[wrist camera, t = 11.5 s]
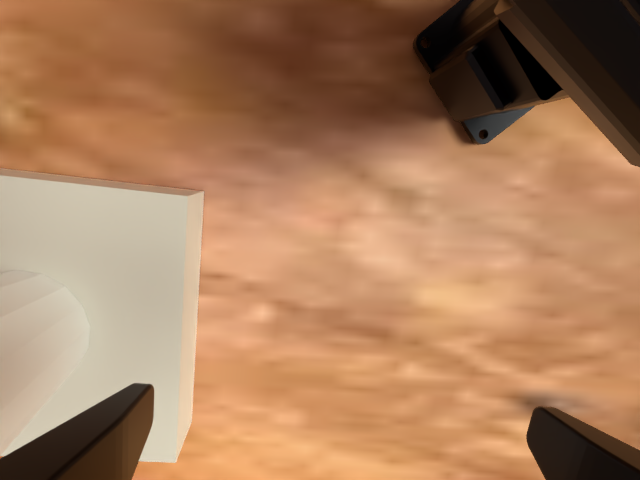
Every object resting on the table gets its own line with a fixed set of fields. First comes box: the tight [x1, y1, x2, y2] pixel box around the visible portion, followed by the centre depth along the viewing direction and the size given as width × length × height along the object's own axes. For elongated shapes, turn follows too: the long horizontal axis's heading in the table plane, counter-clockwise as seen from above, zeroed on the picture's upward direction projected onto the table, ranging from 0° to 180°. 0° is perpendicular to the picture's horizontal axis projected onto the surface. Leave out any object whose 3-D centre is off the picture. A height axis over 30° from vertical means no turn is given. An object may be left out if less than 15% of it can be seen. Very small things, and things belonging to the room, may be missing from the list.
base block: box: [0, 168, 204, 463], centre depth 18 cm, size 14×14×3 cm
